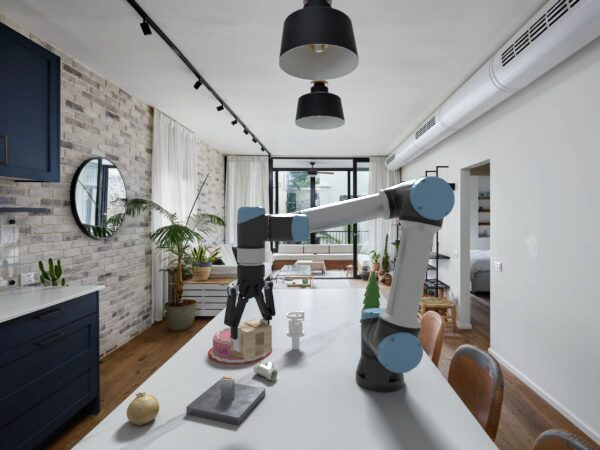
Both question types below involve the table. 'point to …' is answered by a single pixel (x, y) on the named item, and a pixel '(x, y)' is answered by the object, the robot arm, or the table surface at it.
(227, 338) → the cake
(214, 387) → the grey piece
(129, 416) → the onion
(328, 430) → the table surface
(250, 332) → the taped cardboard box
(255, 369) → the pipe fitting
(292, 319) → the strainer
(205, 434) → the table surface
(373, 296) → the decorative tree
